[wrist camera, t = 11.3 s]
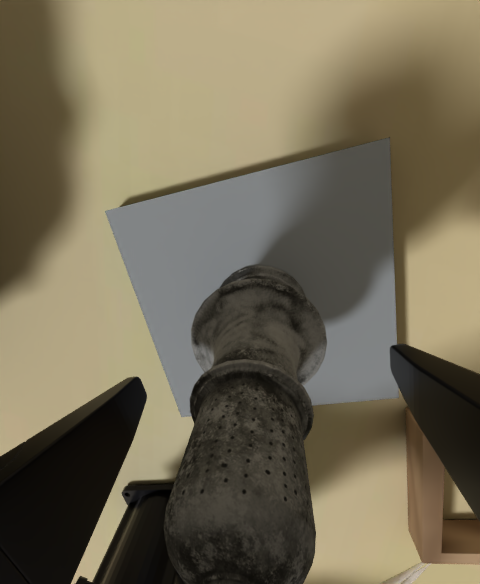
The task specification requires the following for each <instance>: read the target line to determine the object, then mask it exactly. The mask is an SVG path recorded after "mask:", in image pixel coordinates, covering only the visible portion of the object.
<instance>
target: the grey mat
mask: <svg viewBox="0 0 480 584" xmlns="http://www.w3.org/2000/svg"><path fill="white" fill-rule="evenodd" d="M105 213H106V215H107V218H108V221H109V223H110V226H111V229H112V231H113V234H114V237H115V240H116V242H117V245H118V248H119V250H120V253H121V256H122V258H123V261H124V264H125V266H126V269H127V272H128V274H129V277H130V280H131V283H132V285H133V288H134V291H135V293H136V296H137V299H138V301H139V304H140V307H141V309H142V312H143V315H144V318H145V320H146V323H147V326H148V328H149V331H150V334H151V336H152V339H153V342H154V344H155V347H156V350H157V353H158V355H159V358H160V361H161V363H162V366H163V369H164V371H165V374H166V377H167V379H168V382H169V385H170V388H171V390H172V393H173V396H174V398H175V401H176V404H177V406H178V409H179V412H180V414H181V417H187V416H191V413H190V396H191V393H192V390H193V387H194V385H195V383H196V382H197V381H198V379H199V378H200V377H201V375H202V374H204V371H203V370H202V368H201V367H200V365H199V364H198V362H197V360H196V358H195V355H194V352H193V349H192V346H191V328H192V324H193V321H194V317H195V314H196V313H197V311H198V309H199V308H200V306H201V305H202V303H203V302H204V300H205V299H206V298H208V297H209V296H210V295H211V294H212V293H213V292H215V291H216V290H217V289H219V288H220V286H221V285H222V283H223V282H224V280H225V279H227V278H228V277H229V276H230V275H231V274H232V273H234V272H236V271H238V270H240V269H242V268H244V267H250V266H255V265H262V266H271V267H274V268H277V269H280V270H283V271H284V272H286V273H287V274H289V275H290V276H292V277H293V278H294V279H295V280H296V281H297V282H298V283H299V285H300V286H301V287H302V289H303V291H304V293H305V296H306V297H307V298H308V300H309V301H310V302H311V303H312V304H313V305H314V306H315V308H316V309H317V310H318V312H319V314H320V316H321V319H322V321H323V323H324V325H325V330H326V338H327V347H326V352H325V357H324V360H323V362H322V364H321V366H320V368H319V370H318V371H317V373H316V374H315V375H314V376H313V377H312V378H311V379H310V380H309V381H308V382H307V383H306V384H305V385H303V386H304V388H305V390H306V391H307V393H308V395H309V397H310V399H311V402H312V406H313V405H324V404H335V403H347V402H358V401H370V400H381V399H392V398H399V390H398V385H397V383H396V381H395V379H394V377H393V375H392V372H391V368H390V347H391V346H392V345H397V332H396V303H395V274H394V245H393V216H392V187H391V158H390V137H389V138H385V139H381V140H378V141H374V142H370V143H366V144H362V145H358V146H354V147H351V148H347V149H343V150H339V151H335V152H331V153H327V154H323V155H320V156H316V157H312V158H308V159H304V160H300V161H296V162H293V163H289V164H285V165H281V166H277V167H273V168H269V169H266V170H262V171H258V172H254V173H250V174H246V175H242V176H239V177H235V178H231V179H227V180H223V181H219V182H215V183H212V184H208V185H204V186H200V187H196V188H192V189H188V190H184V191H181V192H177V193H173V194H169V195H165V196H161V197H157V198H154V199H150V200H146V201H142V202H138V203H134V204H130V205H127V206H123V207H119V208H115V209H111V210H107V211H105Z"/></svg>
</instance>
